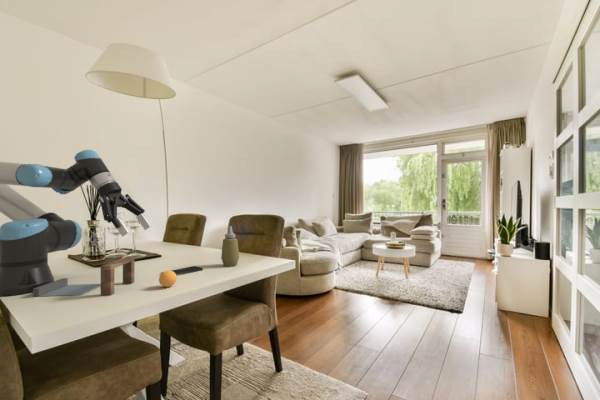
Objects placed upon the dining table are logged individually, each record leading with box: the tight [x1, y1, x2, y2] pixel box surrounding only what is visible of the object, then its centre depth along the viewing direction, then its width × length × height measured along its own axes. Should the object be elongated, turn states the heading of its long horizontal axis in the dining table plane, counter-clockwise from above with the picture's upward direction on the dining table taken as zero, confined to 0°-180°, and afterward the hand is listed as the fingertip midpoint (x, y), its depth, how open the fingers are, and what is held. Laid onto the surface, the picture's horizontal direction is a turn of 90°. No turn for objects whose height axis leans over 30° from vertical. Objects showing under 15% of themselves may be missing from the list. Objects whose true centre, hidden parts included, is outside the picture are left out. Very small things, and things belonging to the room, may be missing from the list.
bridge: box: [100, 256, 135, 297], centre depth 94 cm, size 3×14×9 cm, turn 5°
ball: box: [158, 270, 177, 288], centre depth 95 cm, size 6×6×6 cm
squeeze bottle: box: [220, 225, 240, 267], centre depth 127 cm, size 8×8×18 cm
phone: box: [160, 265, 204, 276], centre depth 116 cm, size 8×1×15 cm
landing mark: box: [39, 283, 101, 298], centre depth 92 cm, size 12×12×1 cm
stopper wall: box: [32, 277, 69, 298], centre depth 92 cm, size 2×12×2 cm, turn 5°
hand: (137, 231), depth 109 cm, fingers open, 13 cm apart
